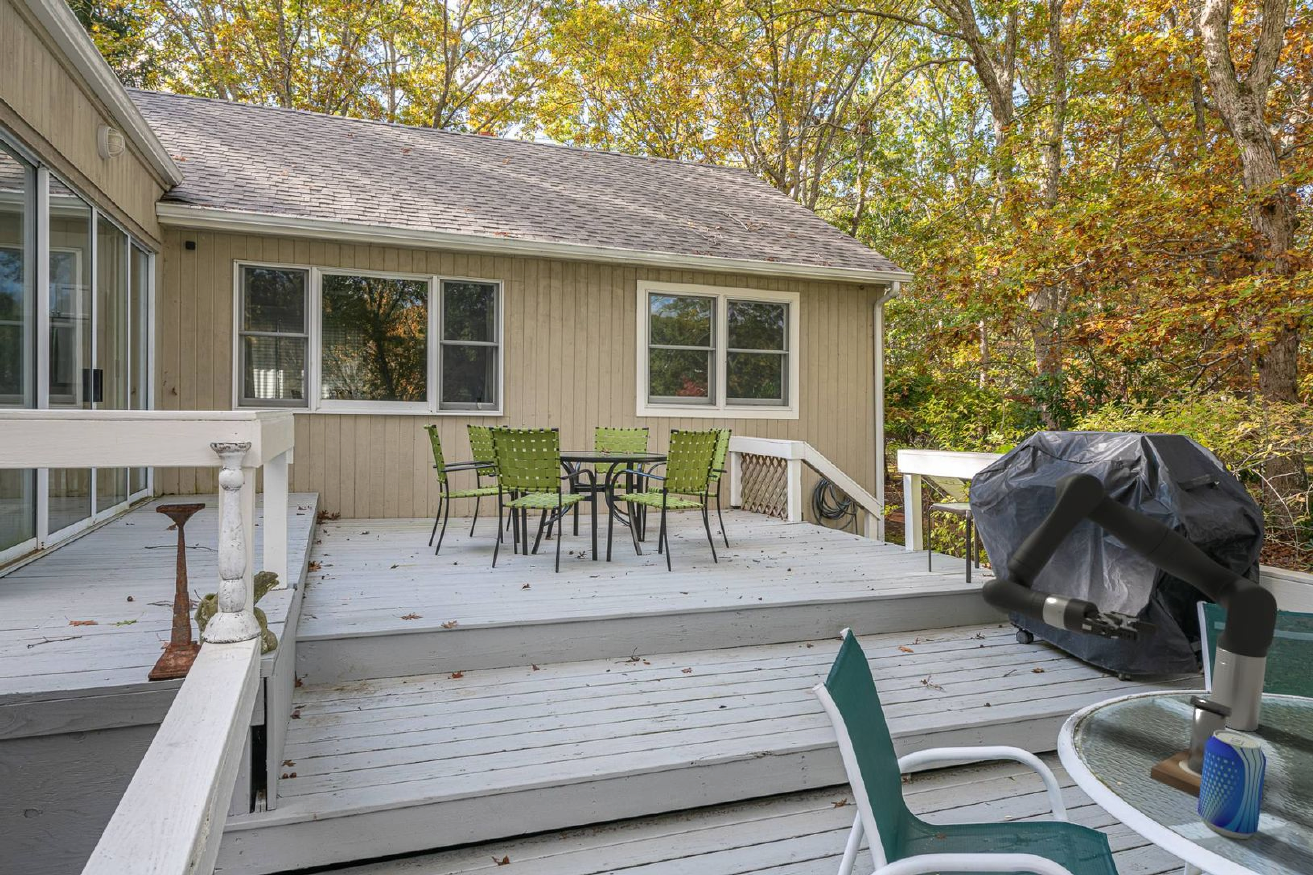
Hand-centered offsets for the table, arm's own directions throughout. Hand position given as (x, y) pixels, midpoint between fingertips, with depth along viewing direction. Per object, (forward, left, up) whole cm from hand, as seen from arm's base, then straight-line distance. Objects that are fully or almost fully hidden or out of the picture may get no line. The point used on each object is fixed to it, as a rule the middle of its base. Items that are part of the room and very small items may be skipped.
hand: (1148, 633), depth 163 cm
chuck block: (+5, +14, -24) cm, 29 cm away
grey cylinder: (+5, +14, -22) cm, 27 cm away
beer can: (+20, +23, -24) cm, 39 cm away
